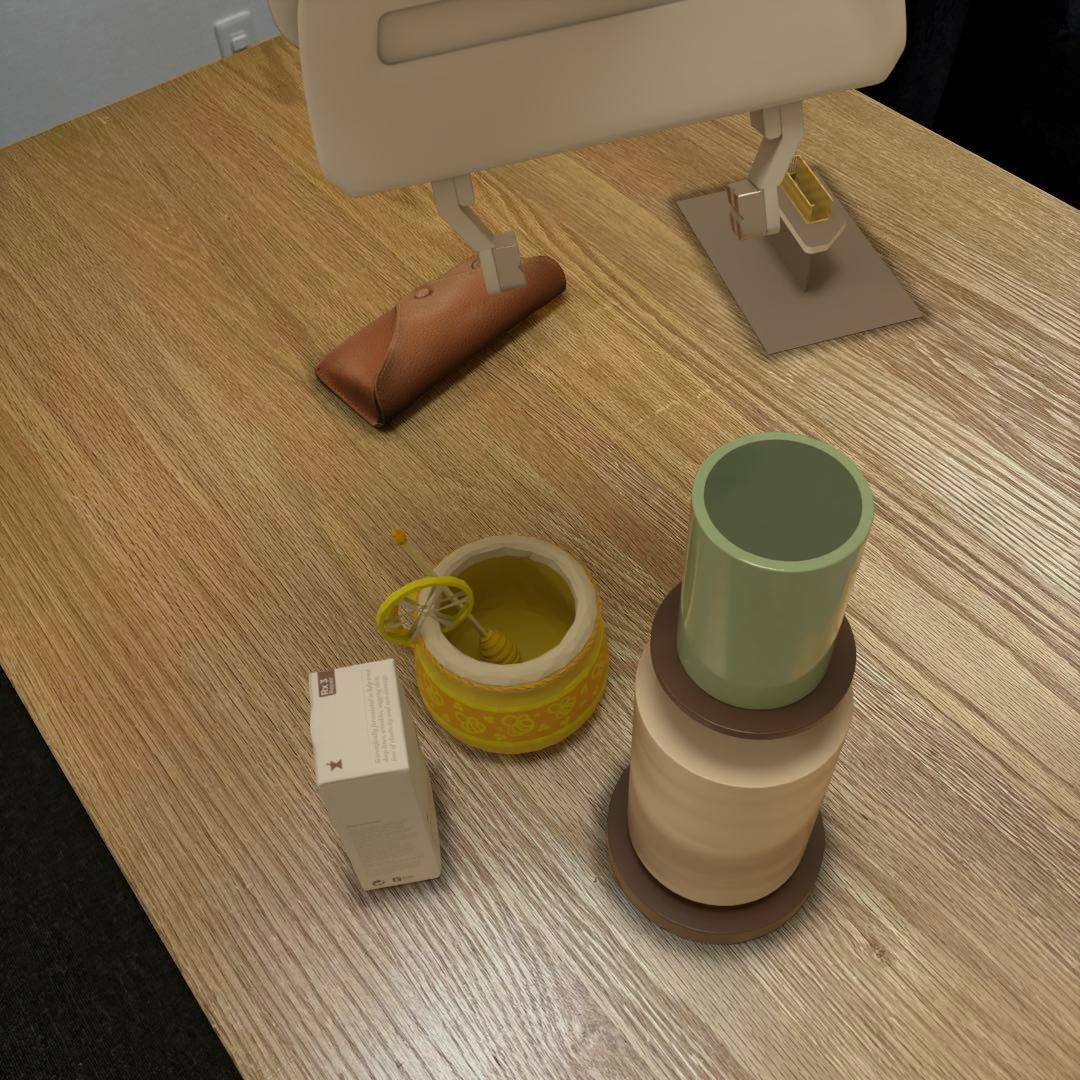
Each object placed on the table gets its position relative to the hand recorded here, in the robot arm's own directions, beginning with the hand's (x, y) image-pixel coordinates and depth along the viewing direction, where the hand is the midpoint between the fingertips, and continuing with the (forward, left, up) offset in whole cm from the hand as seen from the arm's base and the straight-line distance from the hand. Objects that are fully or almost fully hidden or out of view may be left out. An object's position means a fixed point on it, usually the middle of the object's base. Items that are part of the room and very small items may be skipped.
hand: (631, 260), depth 44 cm
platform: (+38, -7, -30) cm, 49 cm away
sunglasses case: (+25, +17, -30) cm, 42 cm away
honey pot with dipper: (-1, +7, -30) cm, 31 cm away
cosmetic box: (-12, +10, -30) cm, 34 cm away
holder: (-9, -6, -30) cm, 32 cm away
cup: (-9, -6, -11) cm, 15 cm away
